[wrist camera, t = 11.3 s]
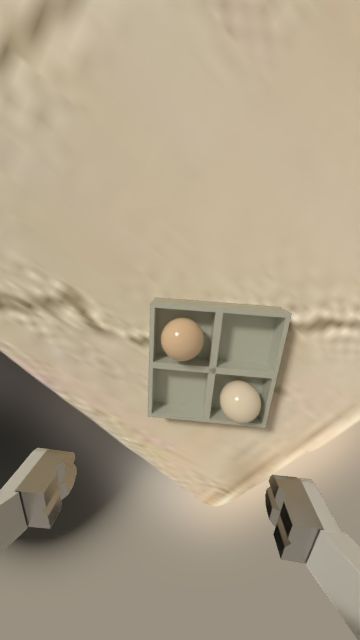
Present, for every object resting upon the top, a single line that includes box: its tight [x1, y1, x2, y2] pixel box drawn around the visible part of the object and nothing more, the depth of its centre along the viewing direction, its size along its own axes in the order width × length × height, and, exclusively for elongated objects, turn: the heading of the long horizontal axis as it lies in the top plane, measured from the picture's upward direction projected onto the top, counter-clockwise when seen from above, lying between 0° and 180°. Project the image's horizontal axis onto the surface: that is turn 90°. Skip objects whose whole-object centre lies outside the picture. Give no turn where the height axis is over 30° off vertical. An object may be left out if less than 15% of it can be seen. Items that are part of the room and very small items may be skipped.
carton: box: [148, 298, 292, 428], centre depth 25 cm, size 15×15×3 cm
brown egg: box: [161, 318, 204, 361], centre depth 23 cm, size 5×5×5 cm
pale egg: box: [220, 380, 261, 423], centre depth 25 cm, size 5×5×5 cm
